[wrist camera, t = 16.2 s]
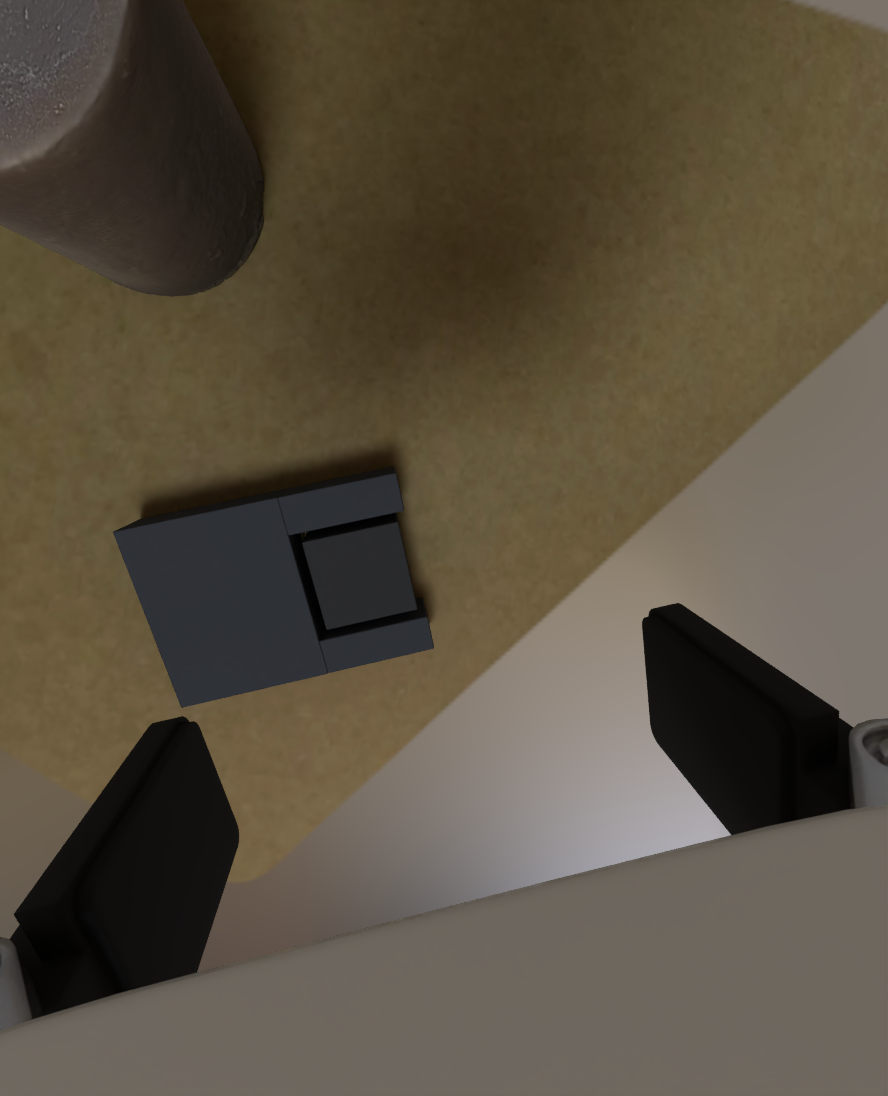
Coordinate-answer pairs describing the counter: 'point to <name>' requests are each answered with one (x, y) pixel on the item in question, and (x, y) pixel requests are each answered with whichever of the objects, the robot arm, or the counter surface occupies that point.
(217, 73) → the pillar candle
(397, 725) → the counter surface
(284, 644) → the large pad
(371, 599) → the small pad
